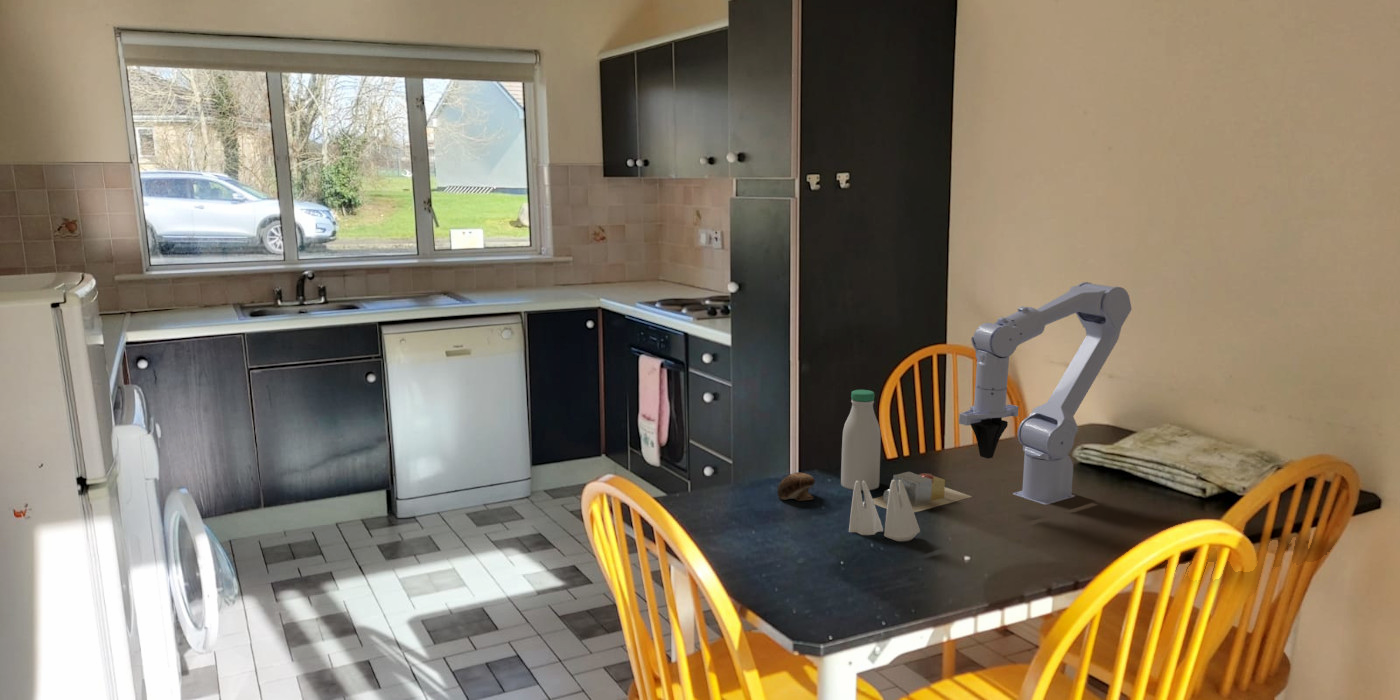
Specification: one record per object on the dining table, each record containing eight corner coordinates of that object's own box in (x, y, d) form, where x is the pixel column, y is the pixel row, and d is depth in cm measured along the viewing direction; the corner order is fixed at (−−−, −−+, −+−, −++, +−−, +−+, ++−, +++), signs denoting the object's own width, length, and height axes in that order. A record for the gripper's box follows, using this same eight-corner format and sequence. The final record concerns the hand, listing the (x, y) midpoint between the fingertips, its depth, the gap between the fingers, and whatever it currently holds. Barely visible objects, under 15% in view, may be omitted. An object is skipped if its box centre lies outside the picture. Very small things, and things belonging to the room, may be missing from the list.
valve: (927, 491, 196) (927, 470, 195) (944, 497, 192) (945, 475, 191) (900, 498, 191) (900, 476, 191) (916, 504, 188) (917, 482, 187)
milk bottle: (881, 493, 196) (885, 396, 192) (843, 493, 196) (846, 395, 193) (875, 481, 204) (879, 387, 200) (838, 481, 204) (841, 387, 200)
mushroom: (828, 490, 188) (811, 461, 189) (793, 510, 186) (776, 481, 187) (817, 497, 195) (801, 469, 197) (784, 516, 193) (768, 488, 195)
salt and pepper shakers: (920, 540, 171) (923, 480, 169) (912, 548, 168) (915, 486, 166) (856, 528, 177) (857, 469, 175) (847, 535, 174) (848, 475, 172)
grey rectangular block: (908, 494, 194) (909, 471, 193) (930, 502, 189) (931, 479, 188) (877, 502, 189) (878, 478, 188) (900, 511, 184) (900, 487, 183)
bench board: (933, 486, 201) (933, 483, 200) (972, 499, 192) (972, 496, 192) (865, 503, 190) (865, 500, 190) (903, 518, 182) (903, 515, 182)
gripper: (999, 379, 192) (994, 446, 194) (948, 387, 184) (943, 457, 186) (1029, 386, 186) (1024, 455, 188) (978, 394, 178) (973, 466, 180)
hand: (986, 456), depth 187 cm, fingers closed
